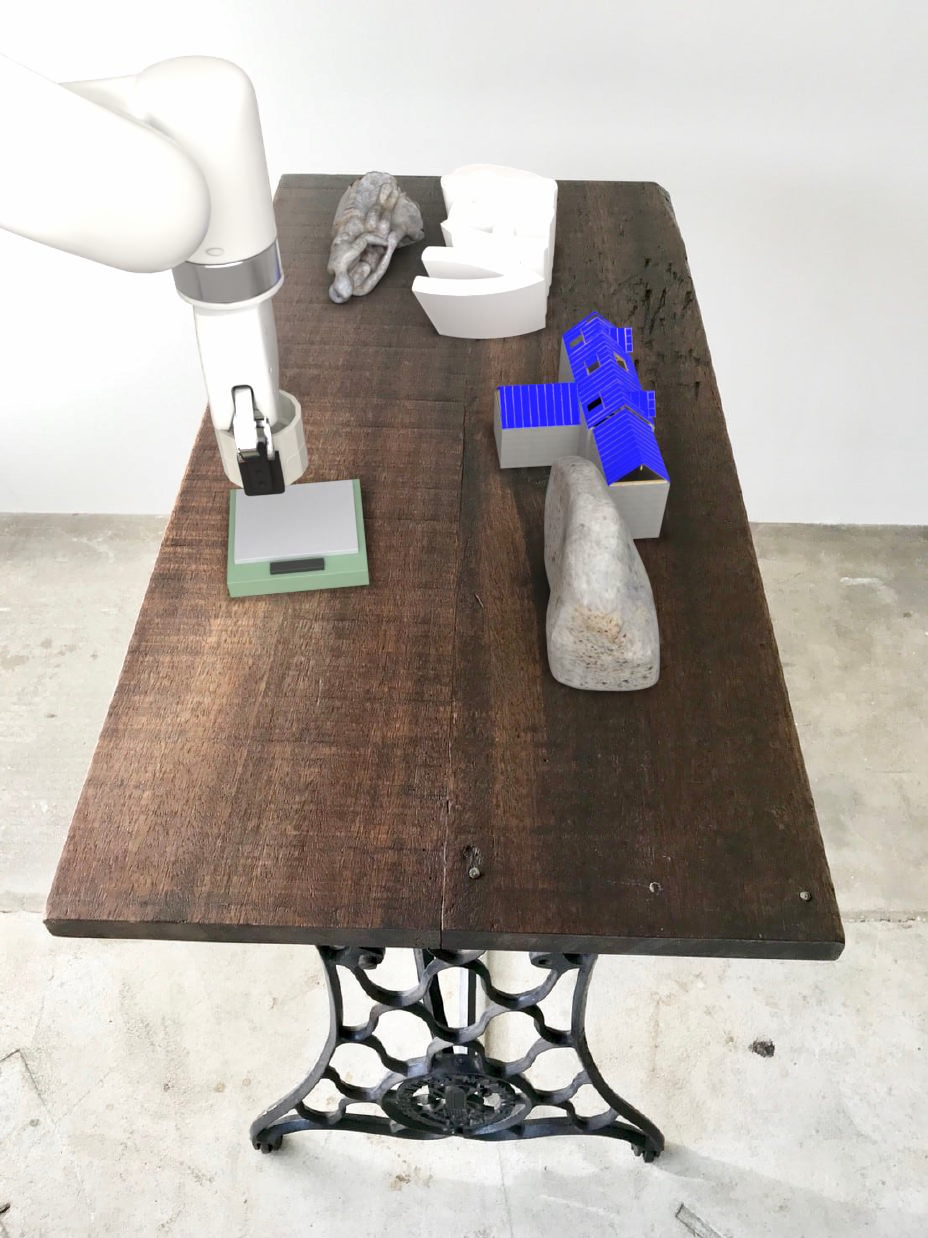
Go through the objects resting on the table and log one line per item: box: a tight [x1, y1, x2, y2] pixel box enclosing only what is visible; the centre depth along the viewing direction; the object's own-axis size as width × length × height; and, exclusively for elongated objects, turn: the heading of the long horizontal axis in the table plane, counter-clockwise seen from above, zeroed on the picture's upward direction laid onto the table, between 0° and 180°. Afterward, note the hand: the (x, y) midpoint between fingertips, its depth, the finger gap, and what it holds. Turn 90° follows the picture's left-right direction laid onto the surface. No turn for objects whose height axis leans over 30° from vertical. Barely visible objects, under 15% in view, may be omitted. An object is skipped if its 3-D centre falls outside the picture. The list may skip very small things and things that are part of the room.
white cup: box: [213, 388, 310, 489], centre depth 79 cm, size 7×7×6 cm
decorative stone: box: [543, 456, 661, 692], centre depth 82 cm, size 17×20×10 cm
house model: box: [493, 310, 671, 540], centre depth 100 cm, size 25×15×10 cm, turn 5°
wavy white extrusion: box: [411, 163, 559, 340], centre depth 123 cm, size 35×16×10 cm, turn 170°
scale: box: [226, 478, 370, 598], centre depth 94 cm, size 13×13×3 cm
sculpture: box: [326, 170, 426, 304], centre depth 125 cm, size 11×18×12 cm
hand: (265, 460), depth 80 cm, fingers closed on white cup, 7 cm apart
